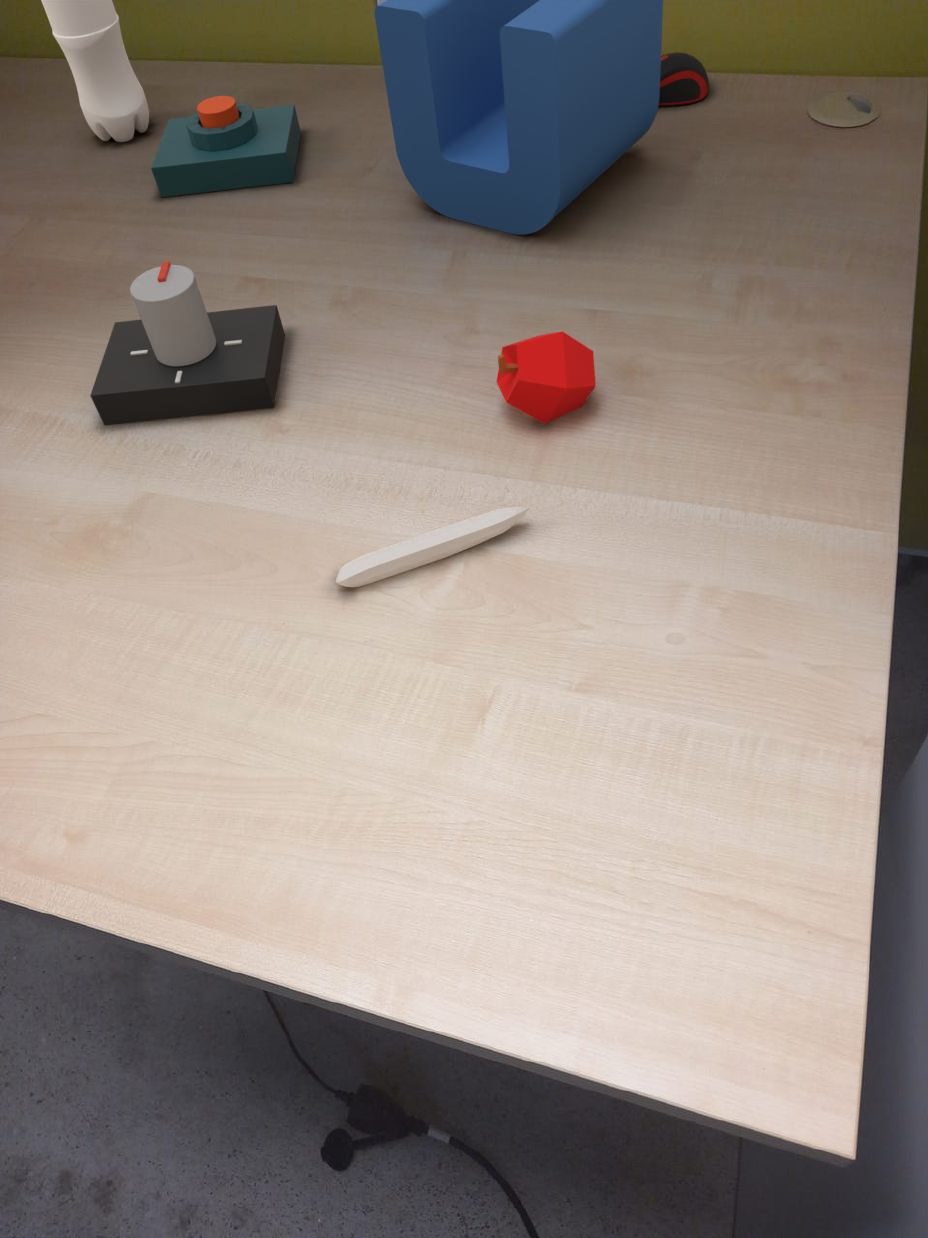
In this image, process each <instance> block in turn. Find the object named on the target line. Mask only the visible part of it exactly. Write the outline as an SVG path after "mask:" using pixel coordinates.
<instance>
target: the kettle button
mask: <svg viewBox="0 0 928 1238" xmlns="http://www.w3.org/2000/svg"><path fill="white" fill-rule="evenodd" d="M236 103H237V102H236V99H235V98H234V97H233V96H229V95H217V96H212V97H208V98H206V99H204V100H202V101H201V102H199V103H198V104H197V106H196V112H198V114H199V118H200V121H201V124H202V127H204V128H210V129H212V128H221V127H225V126H227V125H230V124H233V123H235V122H236V121H237V120H239V119H240V117H239V113H238V109H237V105H236Z"/></svg>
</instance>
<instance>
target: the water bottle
mask: <svg viewBox="0 0 928 1238" xmlns="http://www.w3.org/2000/svg"><path fill="white" fill-rule="evenodd" d="M40 1H41V4H42V6H43V8H44V9H43V10H44V11H45V14H46V16H47V19H48V22H49V25H50V27H51V30H52V32H51V34H52V36H53V37H54V39H55V40H56V42H57V43H58V46H59V47H60V49H61V51H62V52H63V54H64V57H65V58H66V60H67V63H68V66H69V68H70V71H71V73H72V74H71V75H72V77H73V80H74V83H75V88H76V91H77V95H78V100H79V107H80V109H81V111H82V114H83V116H84V118H85V121H86V123H87V125H88V126H89V128H90V129H91V131H92V132H93V133H94V134H95V135H96V136H97V137H98V138H99V139H100V140H101V141H103V142H108V141H110V140H111V138H112V139H113V140H114V141H115V142H118V143H126V142H129V141H131V140H132V139H134V135H135V131H137V133H140V134H142V133H145V132H146V131H147V130H148V127H149V123H150V110H149V105H148V101H147V98H146V94H145V91H144V88H143V86H142V85H141V83H140V81H139V79H138V77H137V75H136V74H135V72H134V68H133V67H132V64H131V62H130V60H129V59H130V58H129V57H128V54H127V51H126V48H125V44H124V40H123V39H124V38H123V36H122V35H123V34H122V31H121V26H120V17H119V15H118V13H117V11H116V8H115V5H114V2H113V0H40Z"/></svg>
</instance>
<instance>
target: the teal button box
mask: <svg viewBox="0 0 928 1238" xmlns="http://www.w3.org/2000/svg"><path fill="white" fill-rule="evenodd" d="M236 105H237V109H238V113H239V117H240V119H239V120H237V121H236V122H235V123H233V124H230V125H227V126H225V127H221V128H212V129H210V128H204V127H202V124H201V121H200V118H199V114H198V111H196V112H195V113H194V114H192V115H191V116H188V117H180V118H171V119H168V120H167V123H166V125H165V128H164V131H163V133H162V136H161V139H160V141H159V145H158V147H157V150H156V153H155V156H154V159H153V161H152V164H151V167H150V169H151V172H152V175H153V178H154V181H155V184H156V188H157V189H158V193H159V195H160V197H161V198H167V197H177V196H185V195H194V194H195V195H196V194H203V193H212V192H220V191H229V190H236V189H237V190H239V189H247V188H255V187H264V186H271V185H272V186H273V185H281V184H289V183H290V184H291V183H293V182H294V176H295V171H296V165H297V159H298V153H299V147H300V141H301V136H302V131H301V127H300V123H299V119H298V118H299V117H298V114H297V110H296V105H295V104H288V105H278V106H271V107H263V108H262V107H261V108H254V109H253V108H251V106H249V105H247V104H246V103H239V102H236Z"/></svg>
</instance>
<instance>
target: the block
mask: <svg viewBox="0 0 928 1238" xmlns="http://www.w3.org/2000/svg"><path fill="white" fill-rule="evenodd" d="M663 15H664V0H385V1H383V2H382V3H380V4H378V5H377V6H376V7H375V8H374V20H375V26H376V33H377V38H378V39H377V40H378V46H379V51H380V57H381V65H382V70H383V77H384V81H385V82H384V83H385V88H386V96H387V102H388V109H389V115H390V120H391V127H392V134H393V140H394V146H395V152H396V156H397V160H398V163H399V165H400V167H401V171H402V172H403V174H404V176H405V179H406V180H407V181H408V182H407V183H409V186H411V188H412V190H414V192H415V193H416V195H417V196H418V197H419V198H420V199H421V200H422V201H423V202H424V203H425V204H426V205H428V207H430V208H431V209H433V210H434V211H436V212H437V213H439V214H441V215H443V216H445V217H447V218H450V219H453V220H458V221H461V222H464V223H468V224H472V225H477V226H479V227H484V228H488V229H490V230H491V229H492V230H495V231H498V232H503V233H507V234H511V235H518V236H520V235H530V234H533V233H536V232H538V231H539V230H541V229H543V228H545V227H546V225H548V224H549V223H550V222H551V221H552V220H554V219H555V217H557V216H558V215H559V214H560V213H561V212H562V211H563V210H564V209H565V208H566V207H567V206H568V205H570V204H571V203H572V202H573V201H574V200H575V199H577V197H579V195H580V194H582V193H583V192H584V191H585V190H586V189H587V188H588V187H589V186H590V185H592V184H593V183H594V182H595V181H596V180H597V179H598V178H599V177H600V176H602V175H603V173H605V172H606V171H607V170H608V169H609V168H610V167H612V165H613V164H615V162H617V161H618V160H619V159H620V158H621V157H622V156H623V155H624V154H625V153H627V152H628V151H629V150H630V149H631V148H633V146H634V145H636V143H637V142H639V141H640V140H641V139H642V138H643V137H644V136H645V135H646V134H647V133H648V132H649V130H650V129H651V126H652V125H653V123H654V122H655V119H656V117H657V115H658V110H659V107H658V105H659V95H660V70H661V56H662V41H663Z"/></svg>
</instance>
